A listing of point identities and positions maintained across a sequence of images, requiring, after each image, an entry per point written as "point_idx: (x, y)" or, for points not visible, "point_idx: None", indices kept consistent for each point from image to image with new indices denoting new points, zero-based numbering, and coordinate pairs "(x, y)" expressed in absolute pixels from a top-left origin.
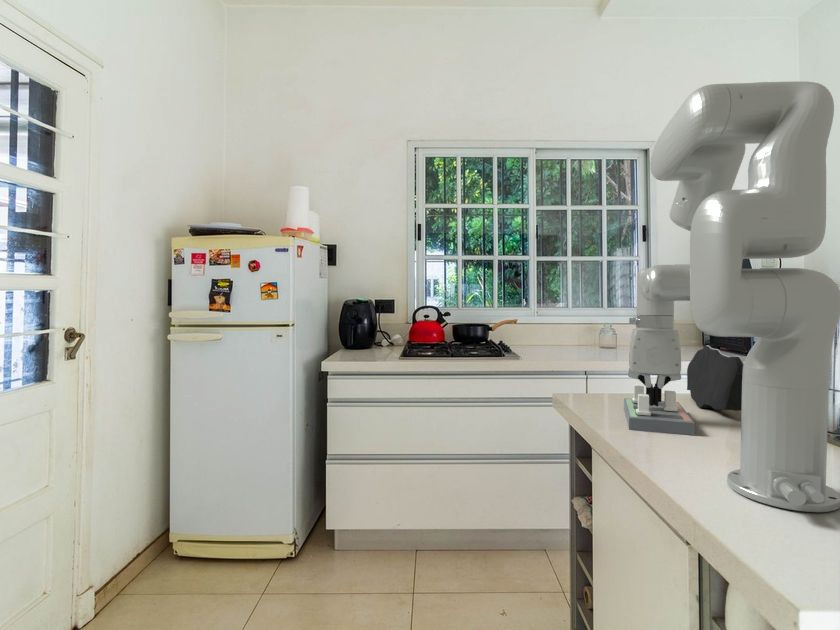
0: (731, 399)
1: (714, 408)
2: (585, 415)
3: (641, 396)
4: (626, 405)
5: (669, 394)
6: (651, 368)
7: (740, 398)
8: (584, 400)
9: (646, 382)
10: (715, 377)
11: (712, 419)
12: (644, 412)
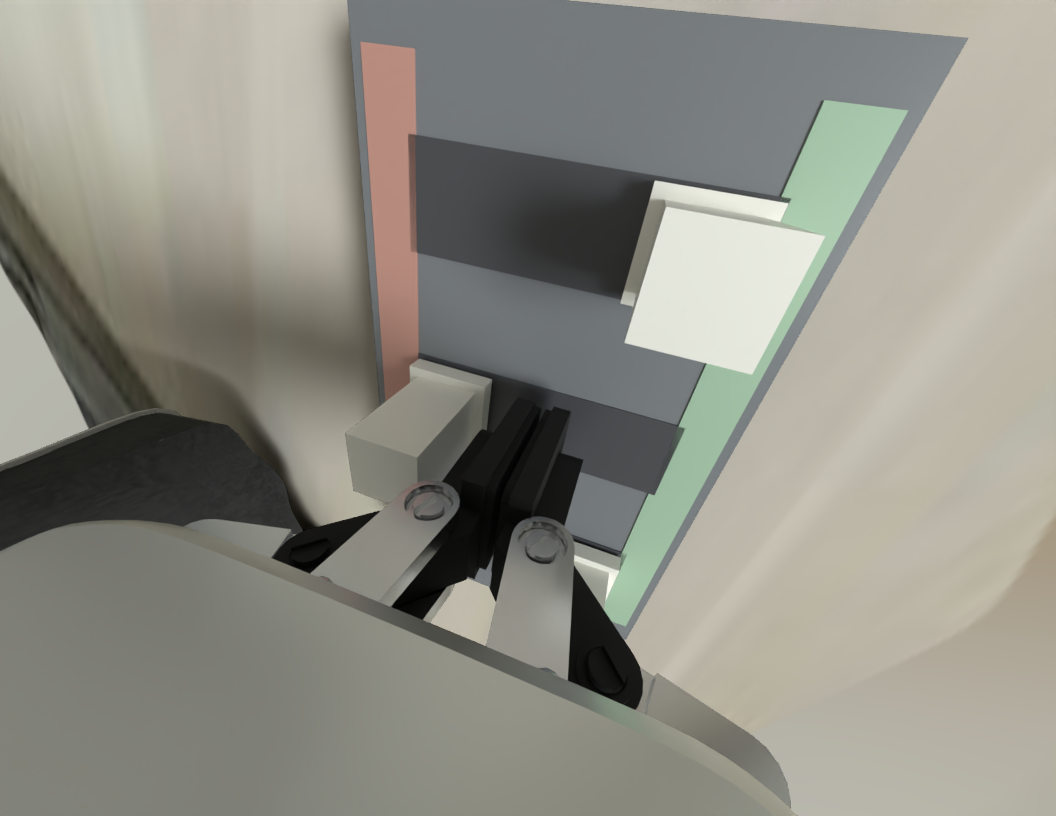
0: (150, 438)
1: (282, 484)
2: (1006, 496)
3: (776, 230)
4: (691, 516)
5: (400, 438)
6: (399, 793)
7: (113, 434)
8: (768, 714)
9: (557, 576)
10: None
11: (312, 416)
12: (712, 191)
